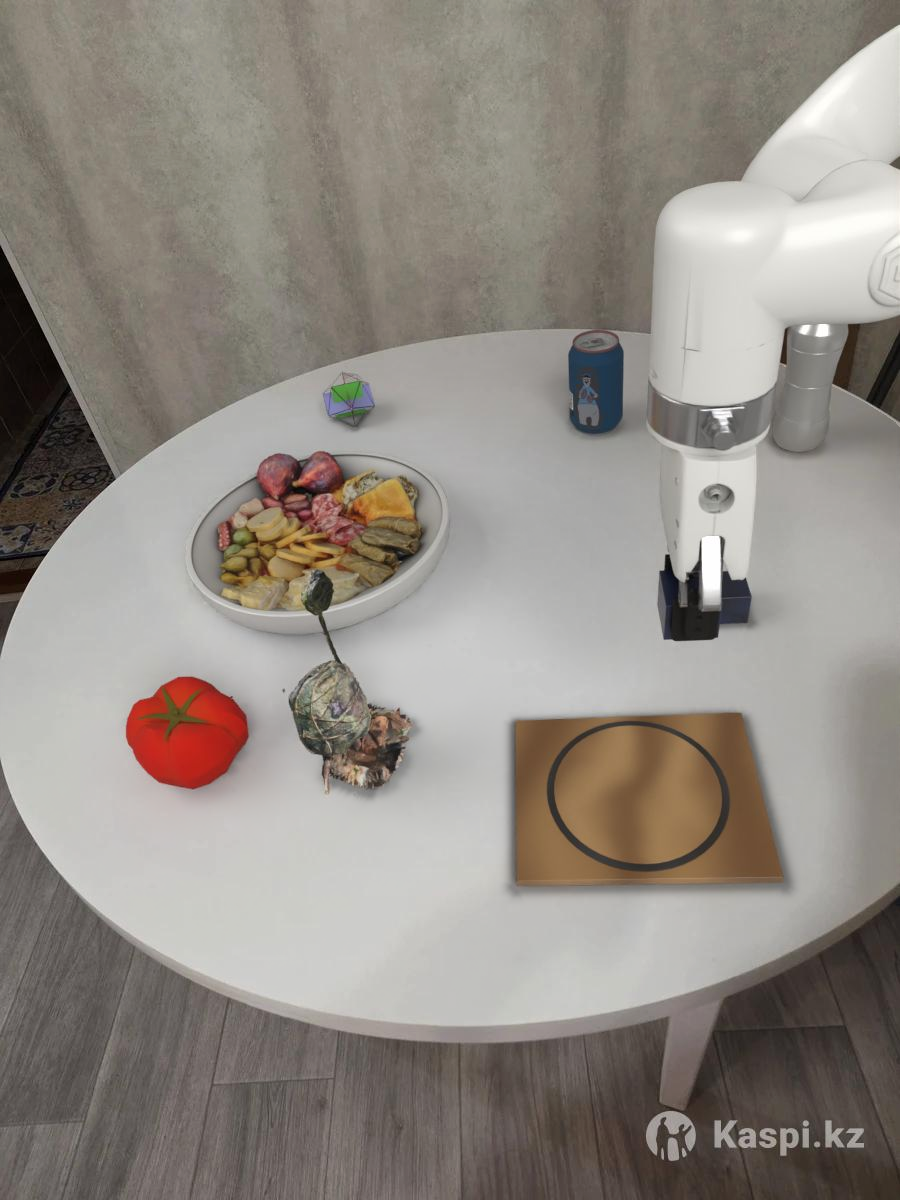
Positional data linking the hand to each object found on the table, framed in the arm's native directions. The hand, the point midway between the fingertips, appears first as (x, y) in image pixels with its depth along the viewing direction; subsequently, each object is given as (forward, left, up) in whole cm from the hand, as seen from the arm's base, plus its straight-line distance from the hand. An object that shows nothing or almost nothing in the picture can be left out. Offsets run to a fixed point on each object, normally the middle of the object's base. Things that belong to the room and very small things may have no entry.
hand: (688, 613), depth 66 cm
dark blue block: (-7, -16, -15) cm, 23 cm away
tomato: (+44, 0, -16) cm, 47 cm away
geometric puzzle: (+37, -59, -16) cm, 72 cm away
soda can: (+3, -53, -16) cm, 56 cm away
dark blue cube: (0, 0, -1) cm, 1 cm away
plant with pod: (+28, +1, -16) cm, 32 cm away
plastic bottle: (-21, -45, -16) cm, 52 cm away
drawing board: (+4, +6, -15) cm, 17 cm away
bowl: (+36, -28, -15) cm, 48 cm away
